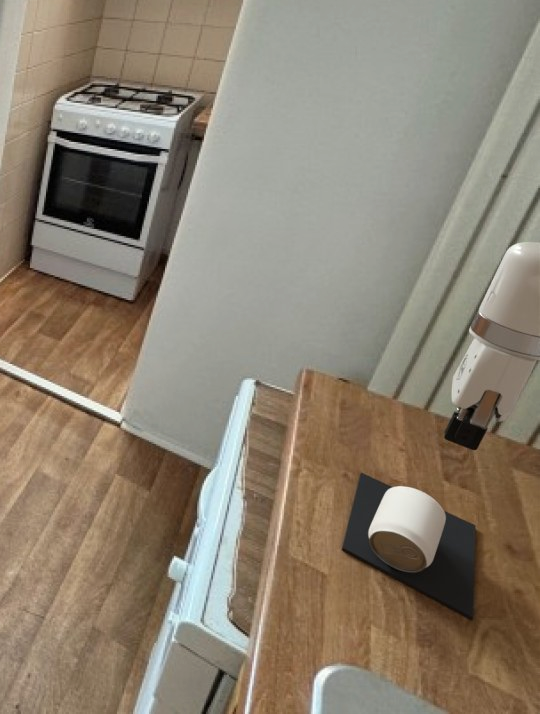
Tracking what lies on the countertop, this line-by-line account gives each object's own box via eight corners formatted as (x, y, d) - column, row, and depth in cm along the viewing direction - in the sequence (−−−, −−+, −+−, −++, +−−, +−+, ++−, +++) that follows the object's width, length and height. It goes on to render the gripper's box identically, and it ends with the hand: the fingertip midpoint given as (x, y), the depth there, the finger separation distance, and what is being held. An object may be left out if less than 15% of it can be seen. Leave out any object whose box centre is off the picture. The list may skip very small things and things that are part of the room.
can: (456, 531, 86) (442, 580, 79) (398, 525, 91) (379, 571, 84) (431, 486, 87) (415, 530, 80) (375, 483, 92) (355, 525, 85)
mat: (474, 527, 90) (475, 525, 90) (471, 620, 78) (473, 617, 77) (360, 474, 99) (361, 472, 99) (341, 550, 86) (342, 547, 86)
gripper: (472, 302, 86) (425, 404, 93) (473, 344, 77) (419, 454, 83) (553, 324, 81) (497, 430, 88) (564, 372, 72) (500, 487, 78)
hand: (459, 441), depth 85 cm, fingers closed
